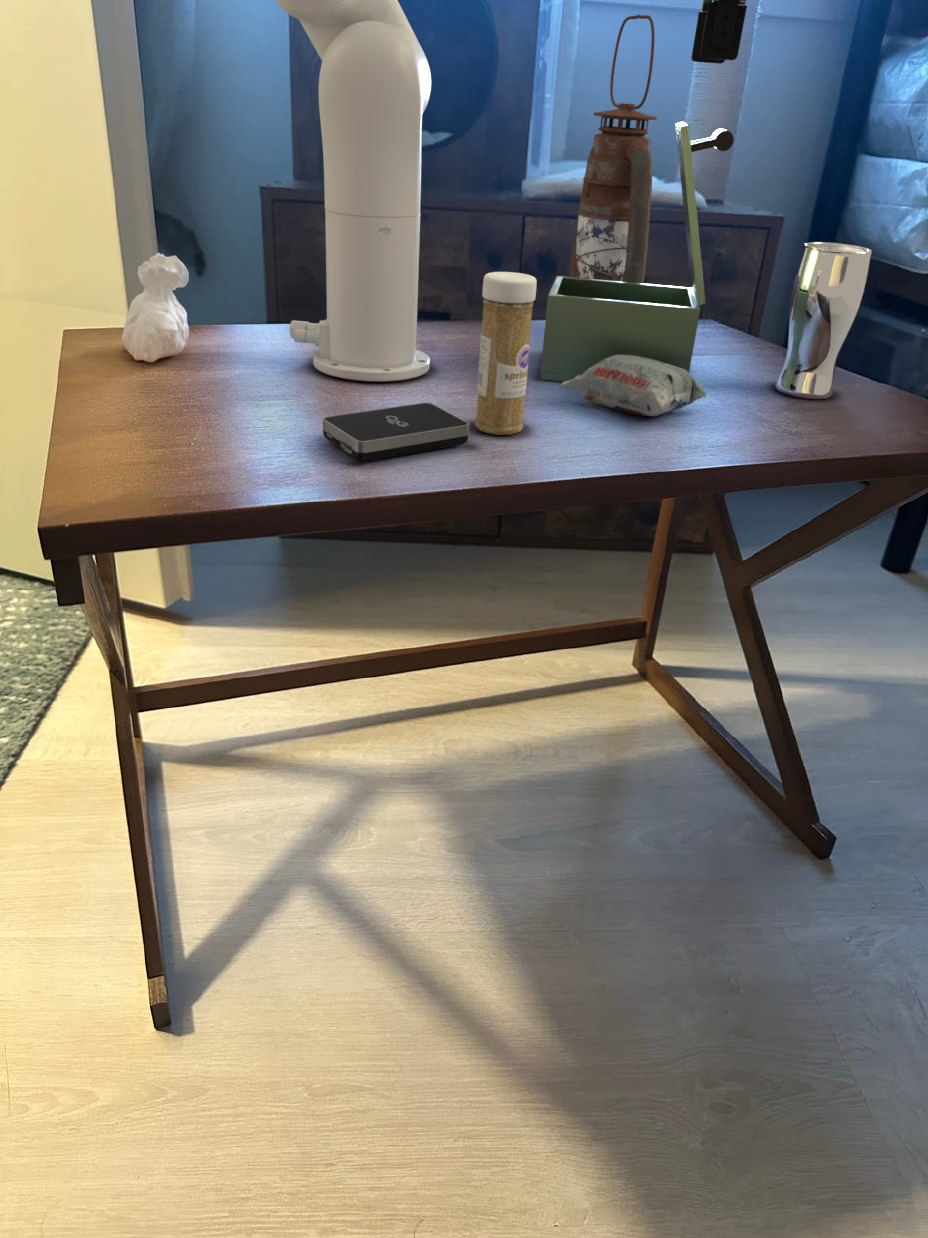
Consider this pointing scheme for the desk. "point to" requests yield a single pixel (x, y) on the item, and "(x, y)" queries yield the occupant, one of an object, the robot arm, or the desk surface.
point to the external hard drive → (395, 431)
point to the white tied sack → (157, 311)
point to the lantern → (616, 192)
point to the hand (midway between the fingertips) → (712, 60)
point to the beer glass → (822, 316)
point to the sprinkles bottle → (504, 351)
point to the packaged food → (637, 385)
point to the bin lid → (721, 142)
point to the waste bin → (615, 324)
